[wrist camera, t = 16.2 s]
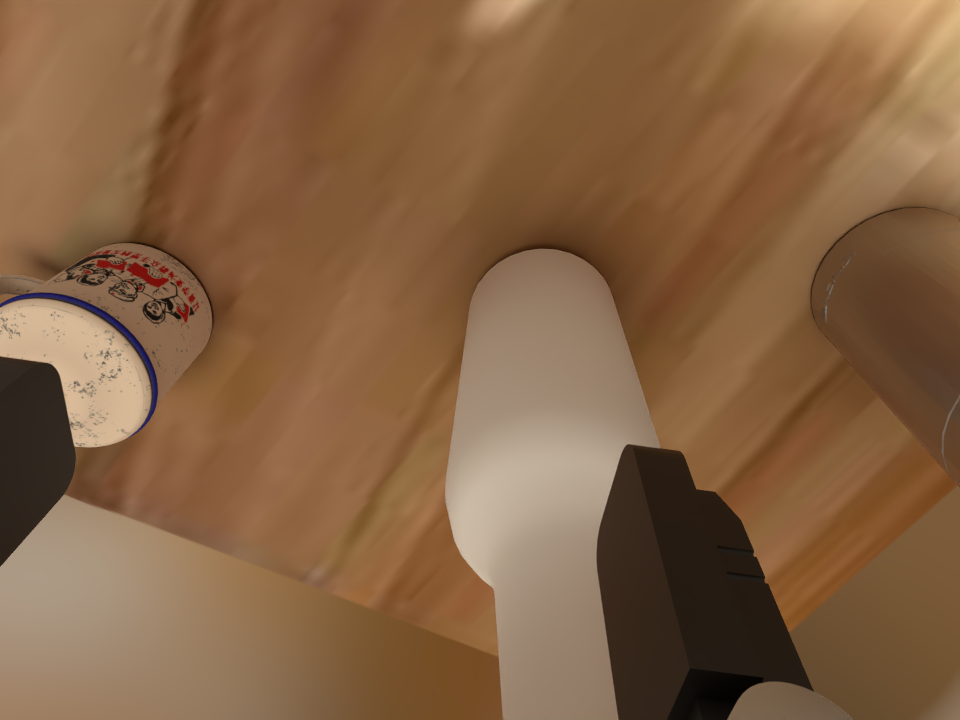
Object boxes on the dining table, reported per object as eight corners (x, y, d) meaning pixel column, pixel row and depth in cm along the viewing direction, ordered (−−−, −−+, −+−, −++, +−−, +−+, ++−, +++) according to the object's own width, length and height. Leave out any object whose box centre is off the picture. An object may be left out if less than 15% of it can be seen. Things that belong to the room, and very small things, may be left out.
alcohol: (444, 332, 42) (333, 889, 16) (518, 215, 39) (528, 701, 12) (560, 395, 44) (628, 984, 18) (642, 289, 41) (877, 846, 14)
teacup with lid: (235, 277, 41) (145, 373, 31) (197, 389, 45) (106, 505, 35) (37, 188, 39) (-130, 259, 29) (16, 314, 43) (-137, 415, 33)
